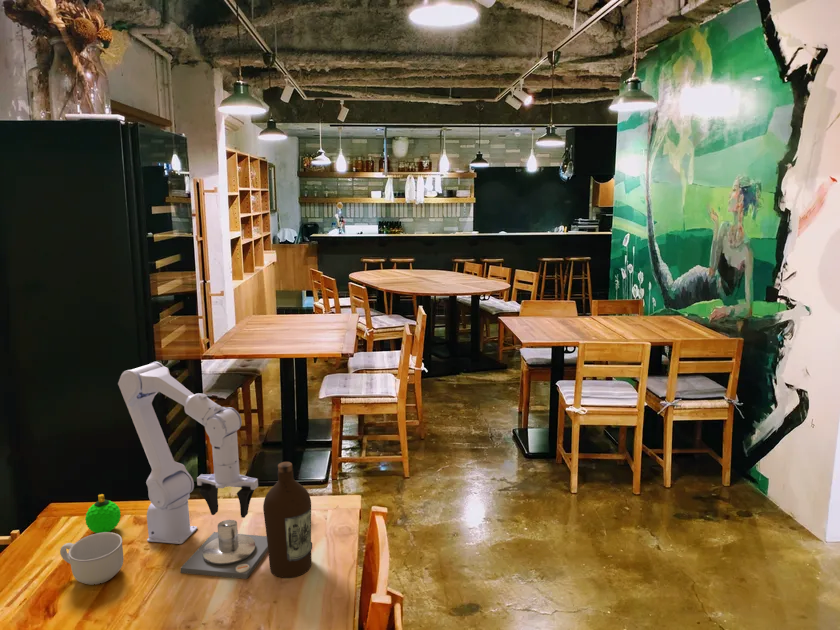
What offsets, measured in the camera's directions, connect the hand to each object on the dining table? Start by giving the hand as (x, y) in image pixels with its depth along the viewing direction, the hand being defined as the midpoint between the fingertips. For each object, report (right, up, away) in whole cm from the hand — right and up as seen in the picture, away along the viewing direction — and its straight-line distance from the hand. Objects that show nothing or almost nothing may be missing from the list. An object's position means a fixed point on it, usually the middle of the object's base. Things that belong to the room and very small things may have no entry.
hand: (229, 514), depth 153 cm
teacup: (-28, -12, -8) cm, 32 cm away
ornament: (-35, -8, +11) cm, 38 cm away
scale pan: (0, -8, -1) cm, 8 cm away
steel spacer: (0, -7, -1) cm, 8 cm away
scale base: (0, -10, -1) cm, 10 cm away
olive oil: (+16, -11, -5) cm, 20 cm away
